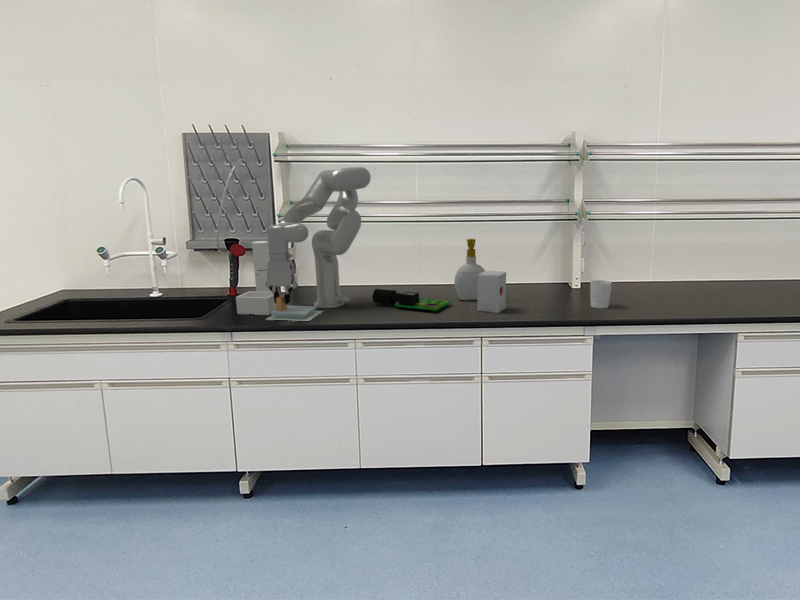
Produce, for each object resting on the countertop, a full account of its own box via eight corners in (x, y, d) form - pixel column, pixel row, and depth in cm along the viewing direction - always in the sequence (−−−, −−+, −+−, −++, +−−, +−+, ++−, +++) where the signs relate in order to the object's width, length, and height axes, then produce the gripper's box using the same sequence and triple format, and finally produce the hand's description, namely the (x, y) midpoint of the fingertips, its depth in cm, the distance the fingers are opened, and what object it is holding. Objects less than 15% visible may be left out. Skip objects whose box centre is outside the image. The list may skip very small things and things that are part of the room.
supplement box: (498, 313, 215) (499, 275, 212) (476, 311, 219) (477, 273, 216) (506, 308, 223) (506, 271, 219) (485, 306, 227) (485, 270, 224)
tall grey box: (268, 298, 251) (264, 243, 245) (254, 297, 252) (249, 243, 247) (275, 294, 258) (270, 241, 252) (260, 294, 259) (256, 241, 253)
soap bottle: (456, 302, 233) (456, 241, 227) (452, 298, 242) (452, 238, 236) (490, 301, 235) (490, 239, 229) (484, 296, 243) (485, 237, 237)
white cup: (601, 310, 216) (602, 284, 214) (584, 306, 223) (586, 281, 220) (614, 307, 220) (615, 282, 218) (597, 303, 227) (599, 279, 224)
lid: (316, 312, 222) (315, 294, 221) (305, 319, 212) (304, 300, 210) (283, 310, 226) (282, 293, 224) (270, 318, 215) (269, 299, 213)
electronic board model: (451, 289, 228) (436, 296, 215) (451, 305, 230) (436, 313, 217) (388, 283, 242) (370, 290, 229) (389, 299, 244) (371, 306, 231)
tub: (281, 308, 231) (279, 292, 230) (269, 315, 221) (267, 298, 219) (250, 307, 235) (249, 291, 233) (237, 314, 224) (235, 297, 223)
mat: (323, 312, 224) (323, 311, 224) (309, 322, 210) (308, 321, 210) (282, 310, 228) (282, 309, 228) (265, 320, 214) (265, 319, 214)
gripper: (302, 255, 216) (305, 301, 220) (264, 255, 220) (267, 300, 224) (294, 258, 209) (298, 306, 213) (254, 258, 213) (258, 304, 217)
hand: (282, 302), depth 219 cm, fingers open, 3 cm apart
